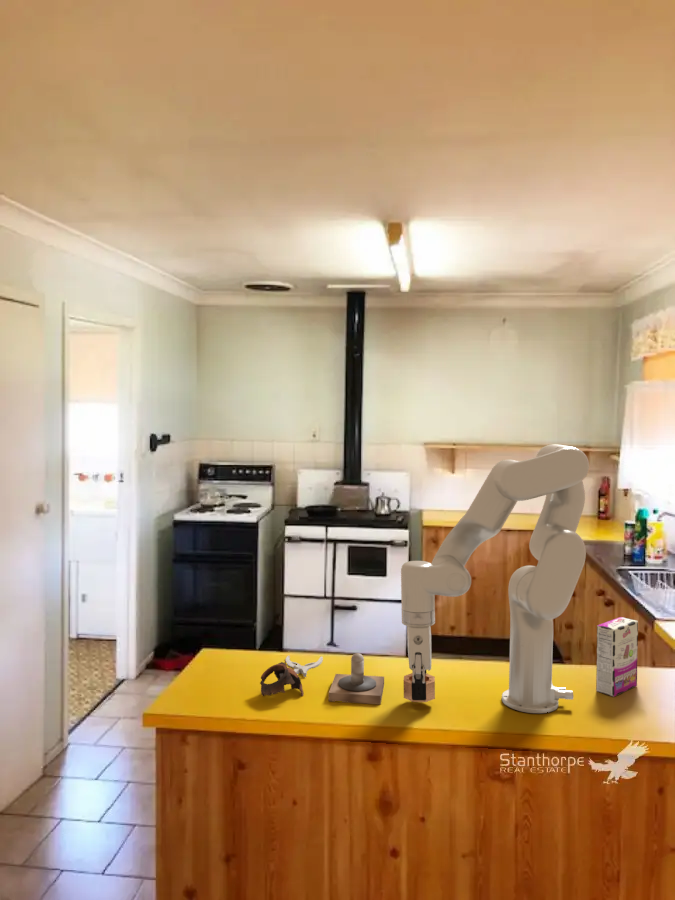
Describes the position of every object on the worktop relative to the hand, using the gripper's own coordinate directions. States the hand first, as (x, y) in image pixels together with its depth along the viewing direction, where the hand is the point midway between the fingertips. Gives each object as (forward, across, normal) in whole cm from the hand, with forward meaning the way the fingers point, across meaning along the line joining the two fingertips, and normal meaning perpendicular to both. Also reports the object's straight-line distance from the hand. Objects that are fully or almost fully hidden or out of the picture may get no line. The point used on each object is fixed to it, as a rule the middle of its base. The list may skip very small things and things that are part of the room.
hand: (419, 692), depth 165 cm
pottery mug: (+2, +2, +32) cm, 32 cm away
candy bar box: (+5, +17, -47) cm, 50 cm away
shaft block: (+2, +5, +15) cm, 16 cm away
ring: (+1, 0, 0) cm, 1 cm away
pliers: (+3, +20, +31) cm, 37 cm away
